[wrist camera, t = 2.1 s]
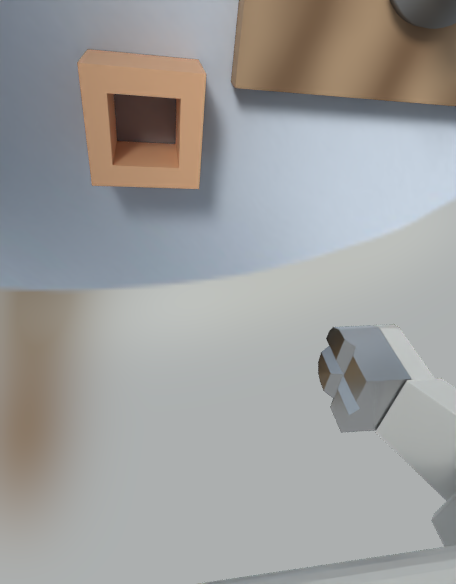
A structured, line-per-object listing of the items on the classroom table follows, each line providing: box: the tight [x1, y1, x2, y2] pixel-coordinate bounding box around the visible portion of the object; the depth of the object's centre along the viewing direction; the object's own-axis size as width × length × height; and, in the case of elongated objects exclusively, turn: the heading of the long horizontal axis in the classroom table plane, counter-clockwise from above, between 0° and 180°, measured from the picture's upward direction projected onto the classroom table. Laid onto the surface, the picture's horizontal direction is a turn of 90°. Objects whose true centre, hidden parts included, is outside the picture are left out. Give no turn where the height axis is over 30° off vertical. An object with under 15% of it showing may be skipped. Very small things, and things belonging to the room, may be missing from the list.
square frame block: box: [77, 49, 206, 189], centre depth 22 cm, size 6×6×4 cm
